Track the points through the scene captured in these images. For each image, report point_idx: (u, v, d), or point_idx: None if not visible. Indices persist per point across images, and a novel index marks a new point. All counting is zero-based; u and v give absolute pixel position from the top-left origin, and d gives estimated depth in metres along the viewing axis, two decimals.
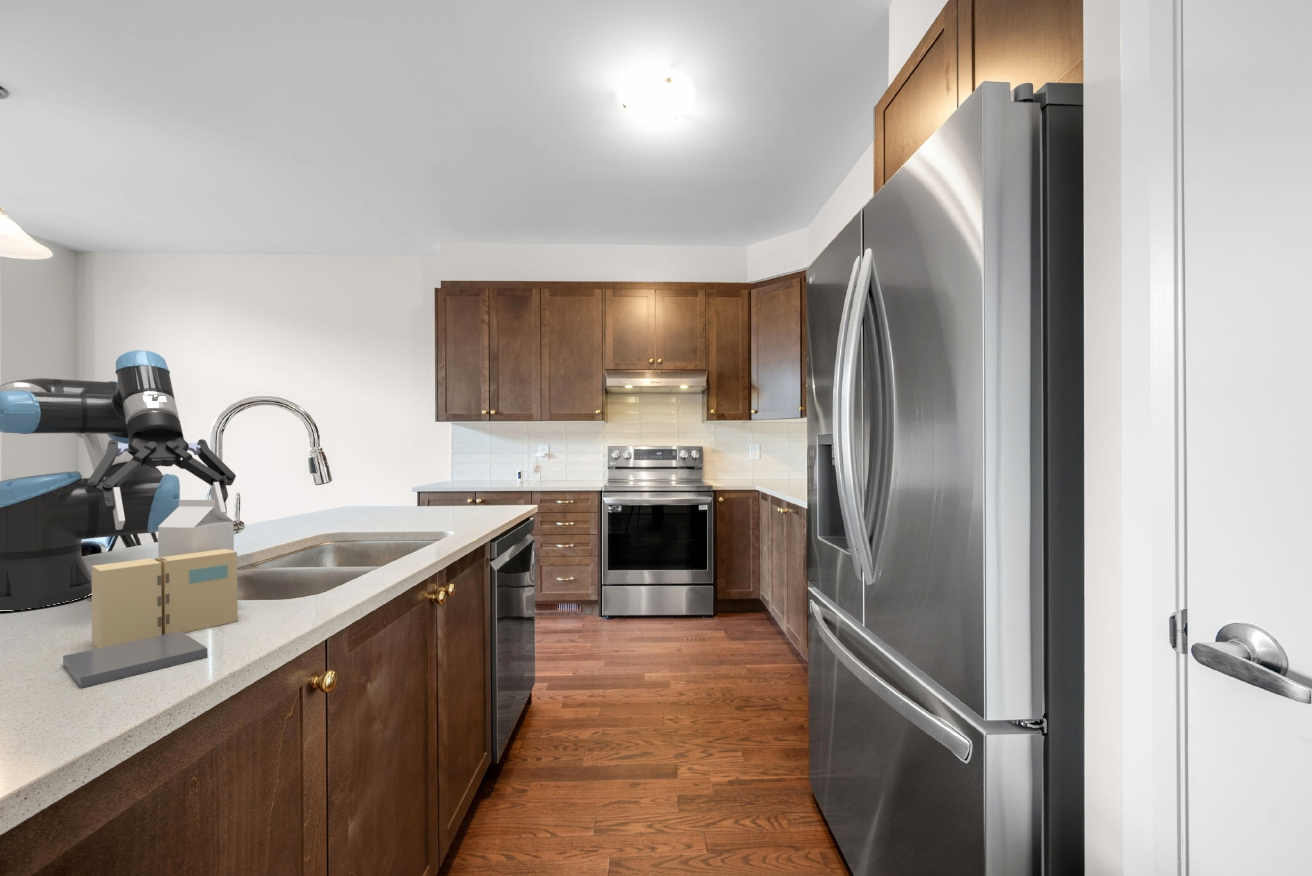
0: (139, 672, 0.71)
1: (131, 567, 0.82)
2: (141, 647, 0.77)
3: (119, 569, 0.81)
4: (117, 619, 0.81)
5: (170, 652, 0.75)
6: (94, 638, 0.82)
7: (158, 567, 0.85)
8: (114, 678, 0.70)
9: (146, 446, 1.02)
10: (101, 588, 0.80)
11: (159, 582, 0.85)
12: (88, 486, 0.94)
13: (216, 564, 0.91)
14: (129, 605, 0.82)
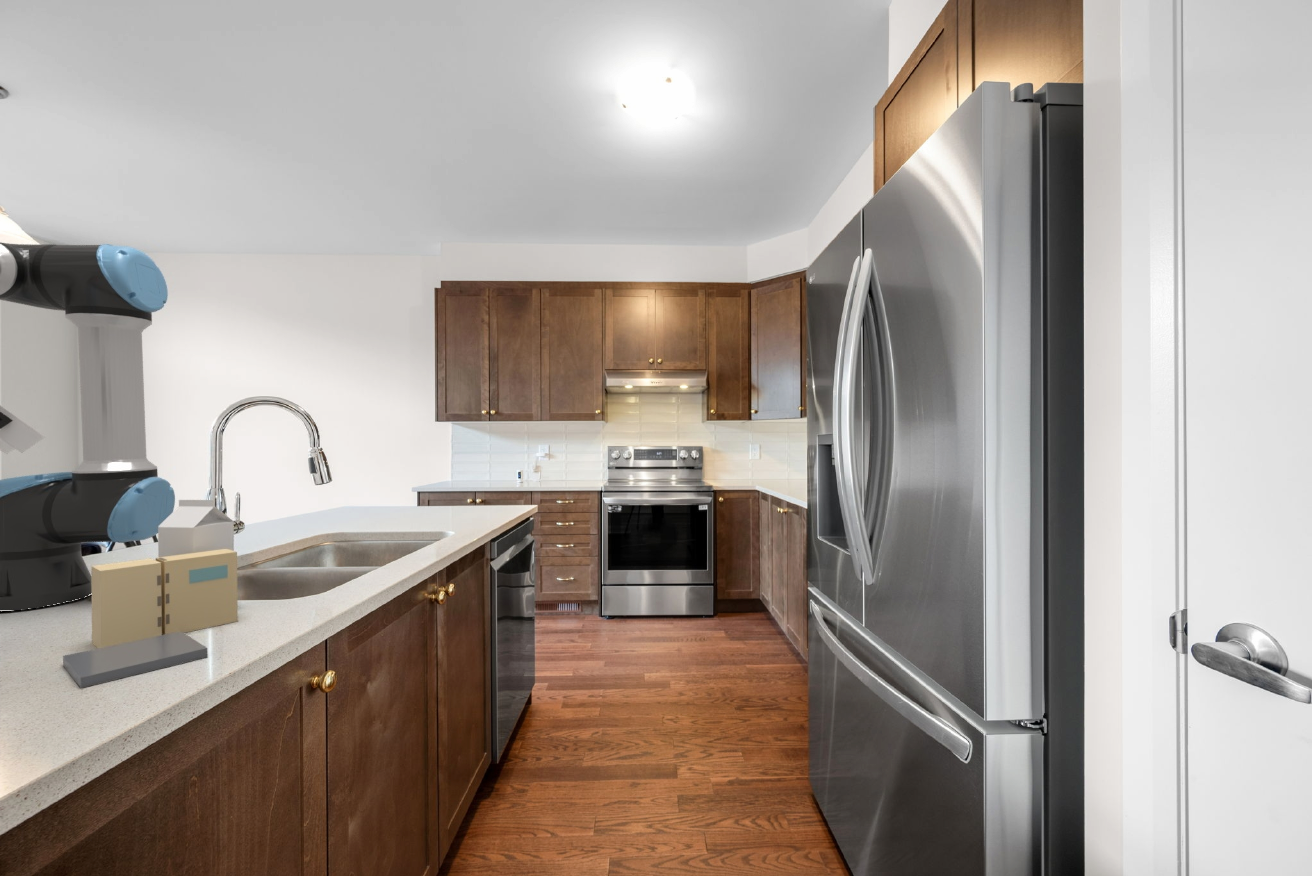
0: (139, 672, 0.71)
1: (131, 567, 0.82)
2: (141, 647, 0.77)
3: (119, 569, 0.81)
4: (117, 619, 0.81)
5: (170, 652, 0.75)
6: (94, 638, 0.82)
7: (158, 567, 0.85)
8: (114, 678, 0.70)
9: None
10: (101, 588, 0.80)
11: (159, 582, 0.85)
12: None
13: (216, 564, 0.91)
14: (129, 605, 0.82)
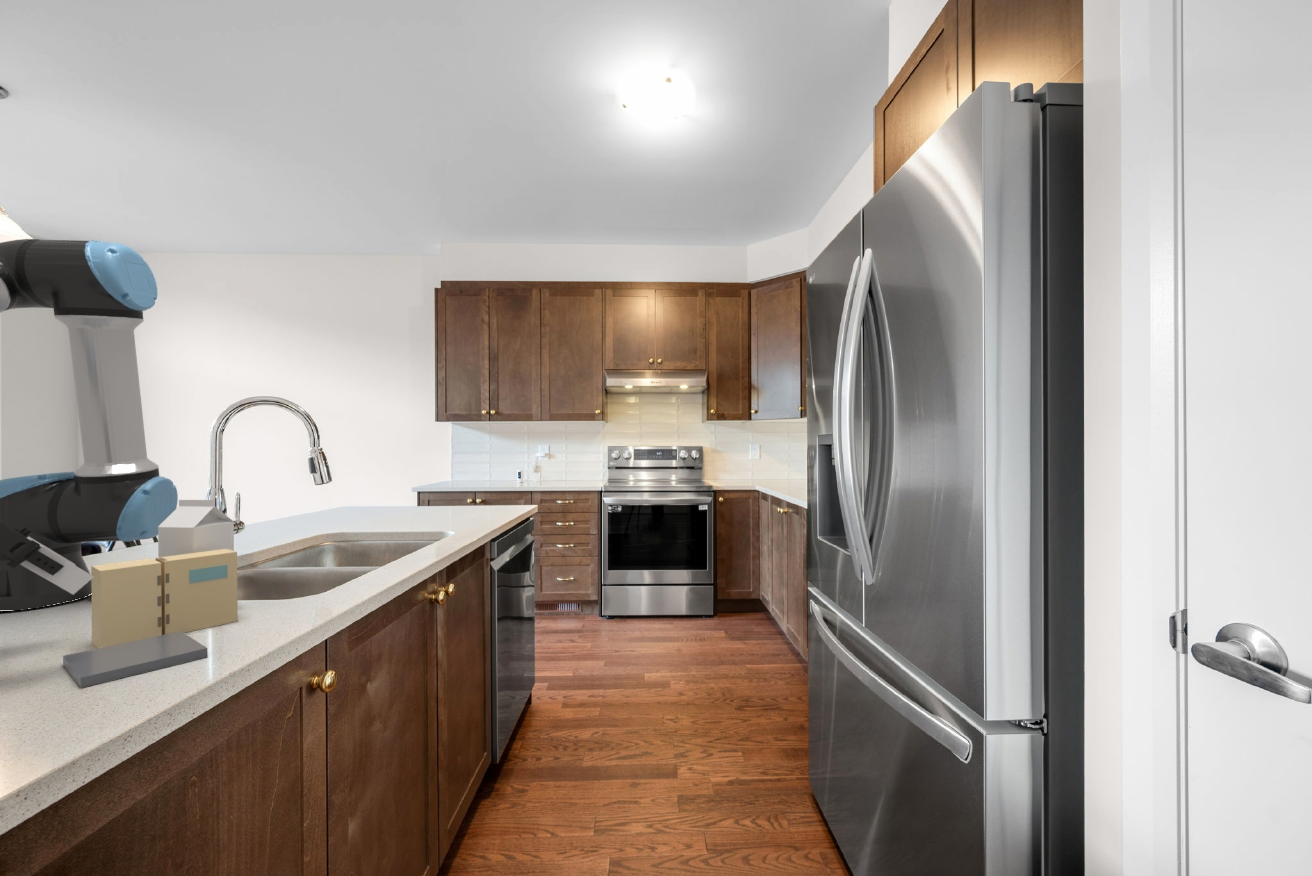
0: (139, 672, 0.71)
1: (131, 567, 0.82)
2: (141, 647, 0.77)
3: (119, 569, 0.81)
4: (117, 619, 0.81)
5: (170, 652, 0.75)
6: (94, 638, 0.82)
7: (158, 567, 0.85)
8: (114, 678, 0.70)
9: None
10: (101, 588, 0.80)
11: (159, 582, 0.85)
12: None
13: (216, 564, 0.91)
14: (129, 605, 0.82)
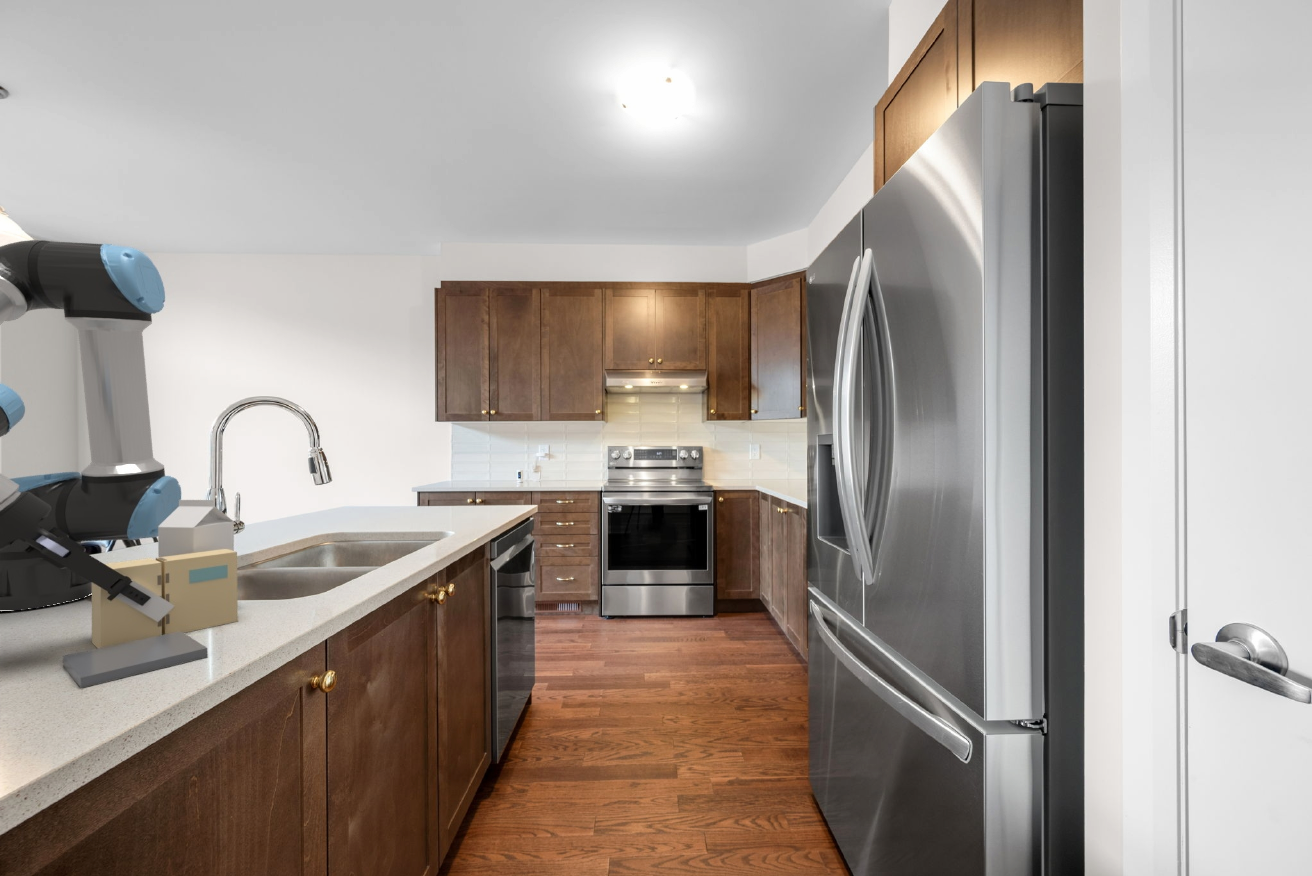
0: (139, 672, 0.71)
1: (131, 567, 0.82)
2: (141, 647, 0.77)
3: (119, 569, 0.81)
4: (118, 619, 0.81)
5: (170, 652, 0.75)
6: (94, 638, 0.82)
7: (158, 567, 0.85)
8: (114, 678, 0.70)
9: None
10: (101, 588, 0.80)
11: (159, 582, 0.85)
12: None
13: (216, 564, 0.91)
14: (129, 605, 0.82)
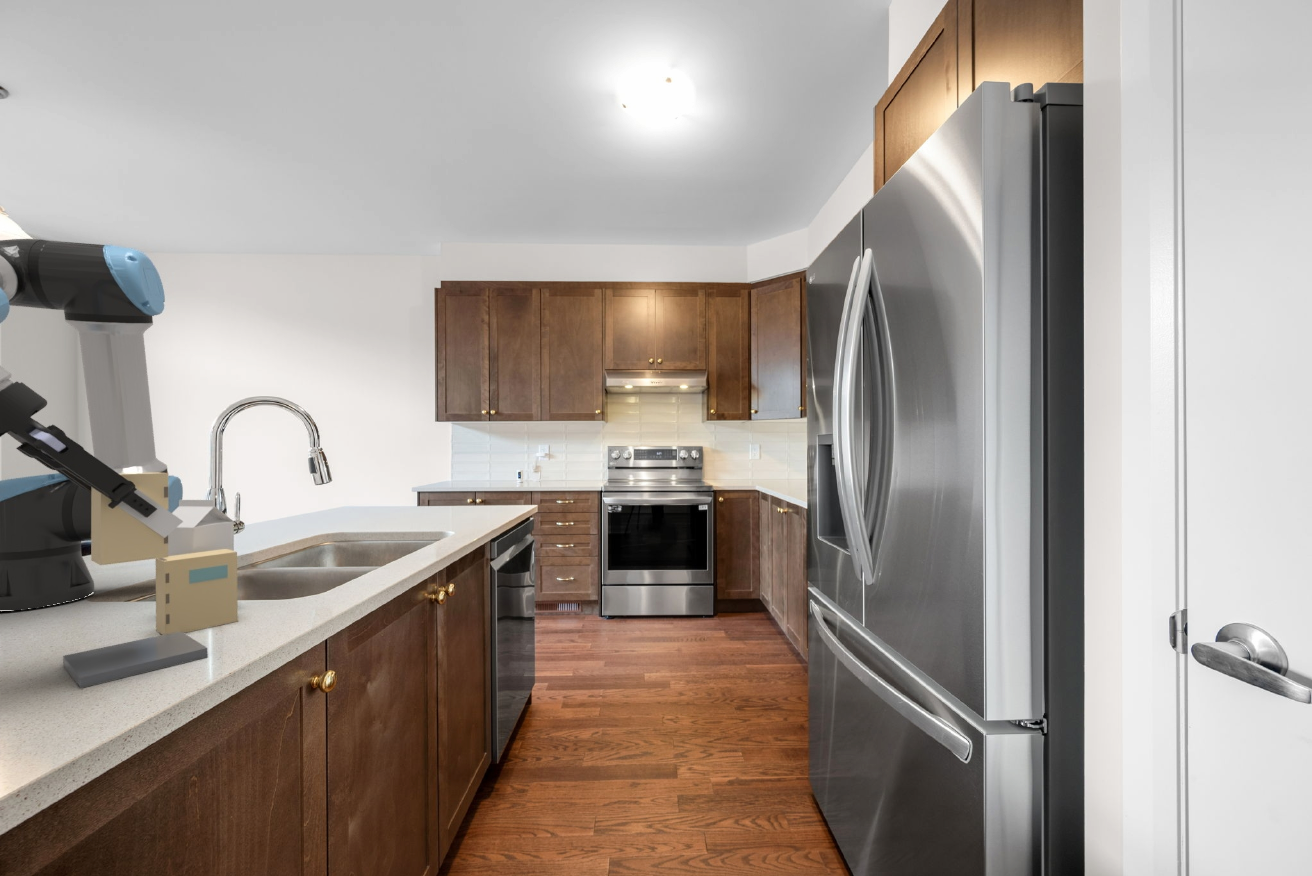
0: (139, 672, 0.71)
1: (135, 474, 0.74)
2: (141, 647, 0.77)
3: (122, 475, 0.73)
4: (119, 531, 0.73)
5: (170, 652, 0.75)
6: (93, 553, 0.74)
7: (165, 477, 0.76)
8: (114, 678, 0.70)
9: (27, 455, 0.70)
10: (102, 494, 0.72)
11: (166, 494, 0.76)
12: None
13: (216, 564, 0.91)
14: None
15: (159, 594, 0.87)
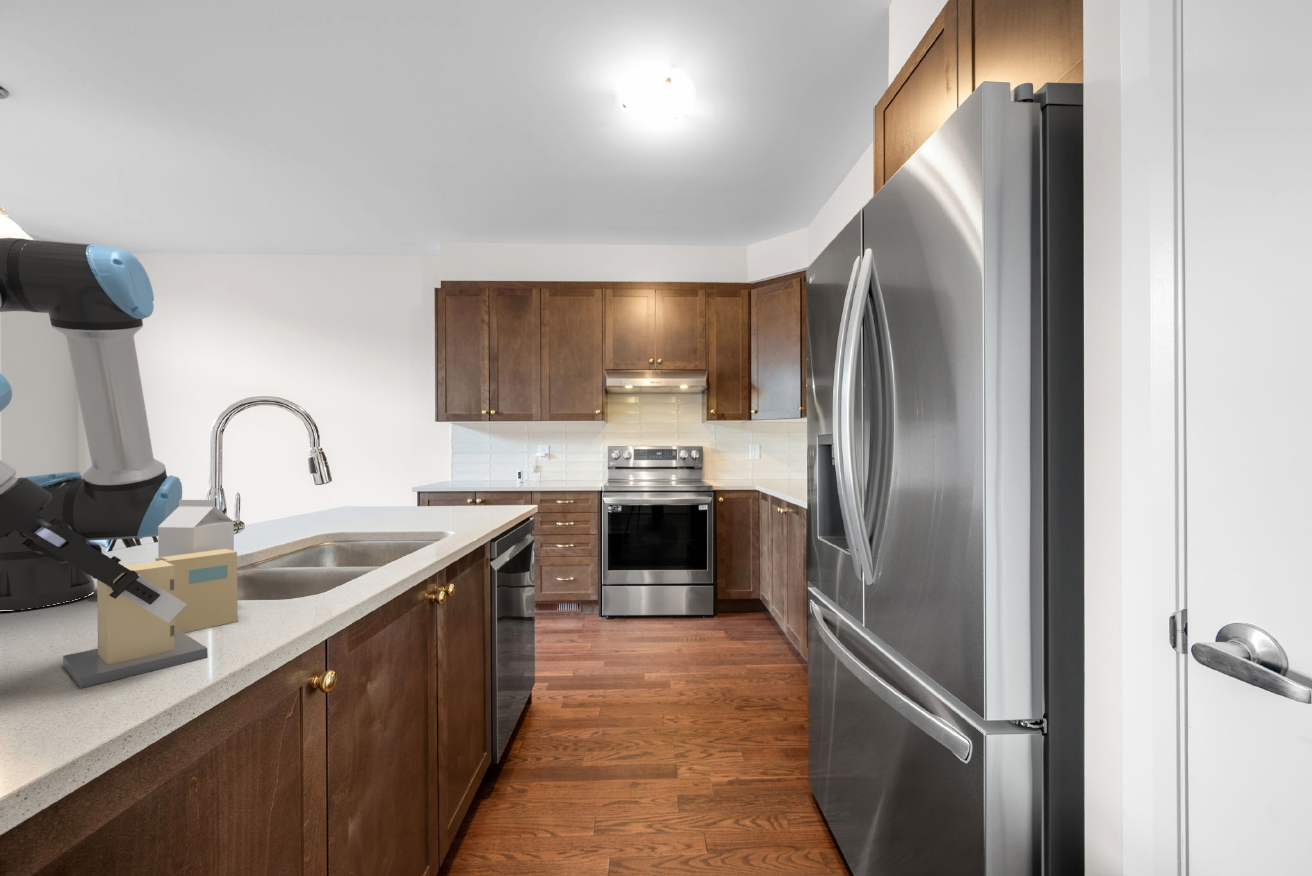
0: (139, 672, 0.71)
1: (141, 570, 0.74)
2: None
3: None
4: (126, 628, 0.73)
5: (170, 652, 0.75)
6: (100, 649, 0.74)
7: (171, 570, 0.76)
8: (114, 678, 0.70)
9: None
10: (108, 594, 0.72)
11: (172, 587, 0.76)
12: None
13: (216, 564, 0.91)
14: (139, 612, 0.74)
15: None
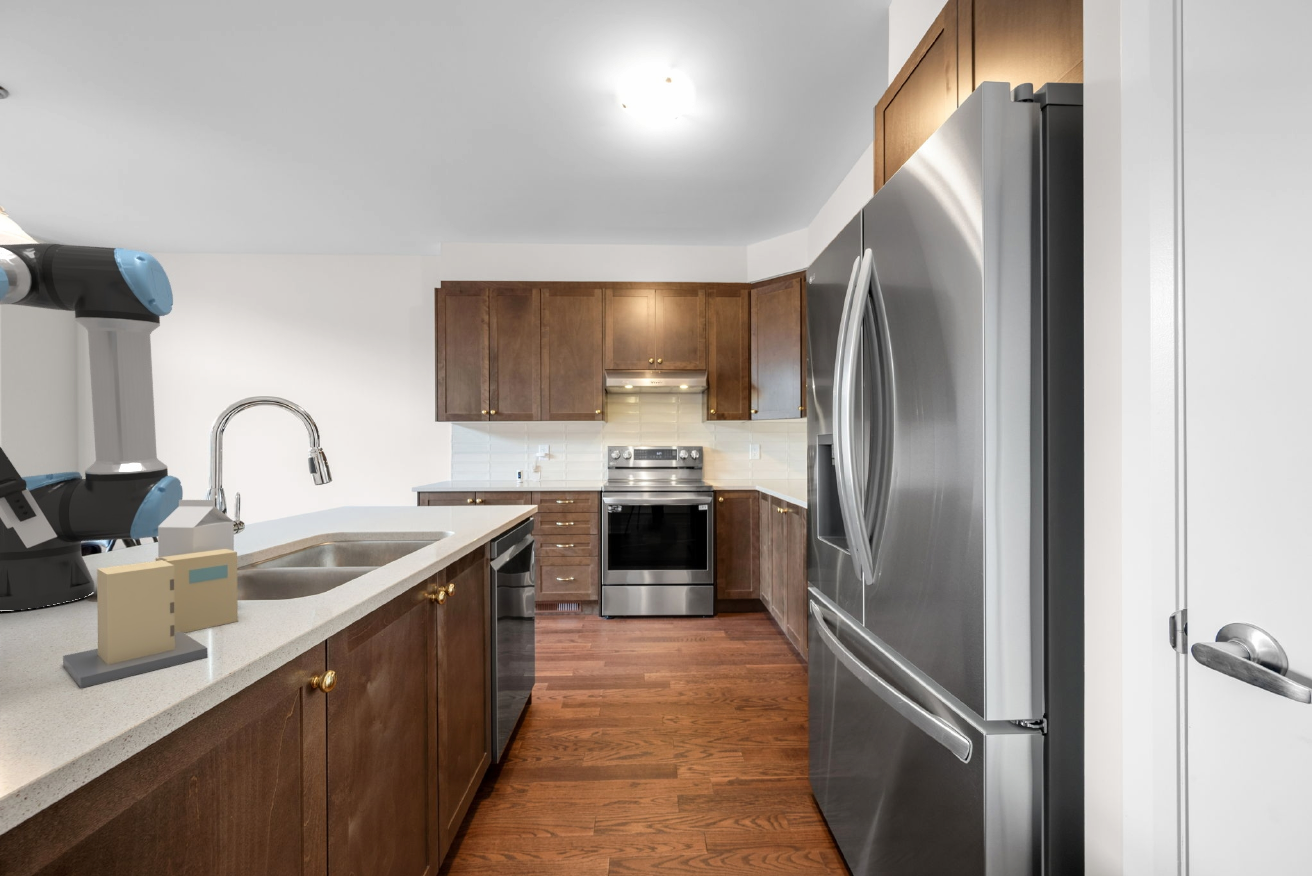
0: (139, 672, 0.71)
1: (141, 570, 0.74)
2: None
3: (128, 572, 0.73)
4: (126, 628, 0.73)
5: (170, 652, 0.75)
6: (100, 649, 0.74)
7: (171, 570, 0.76)
8: (114, 678, 0.70)
9: None
10: (108, 594, 0.72)
11: (172, 587, 0.76)
12: None
13: (216, 564, 0.91)
14: (139, 612, 0.74)
15: None
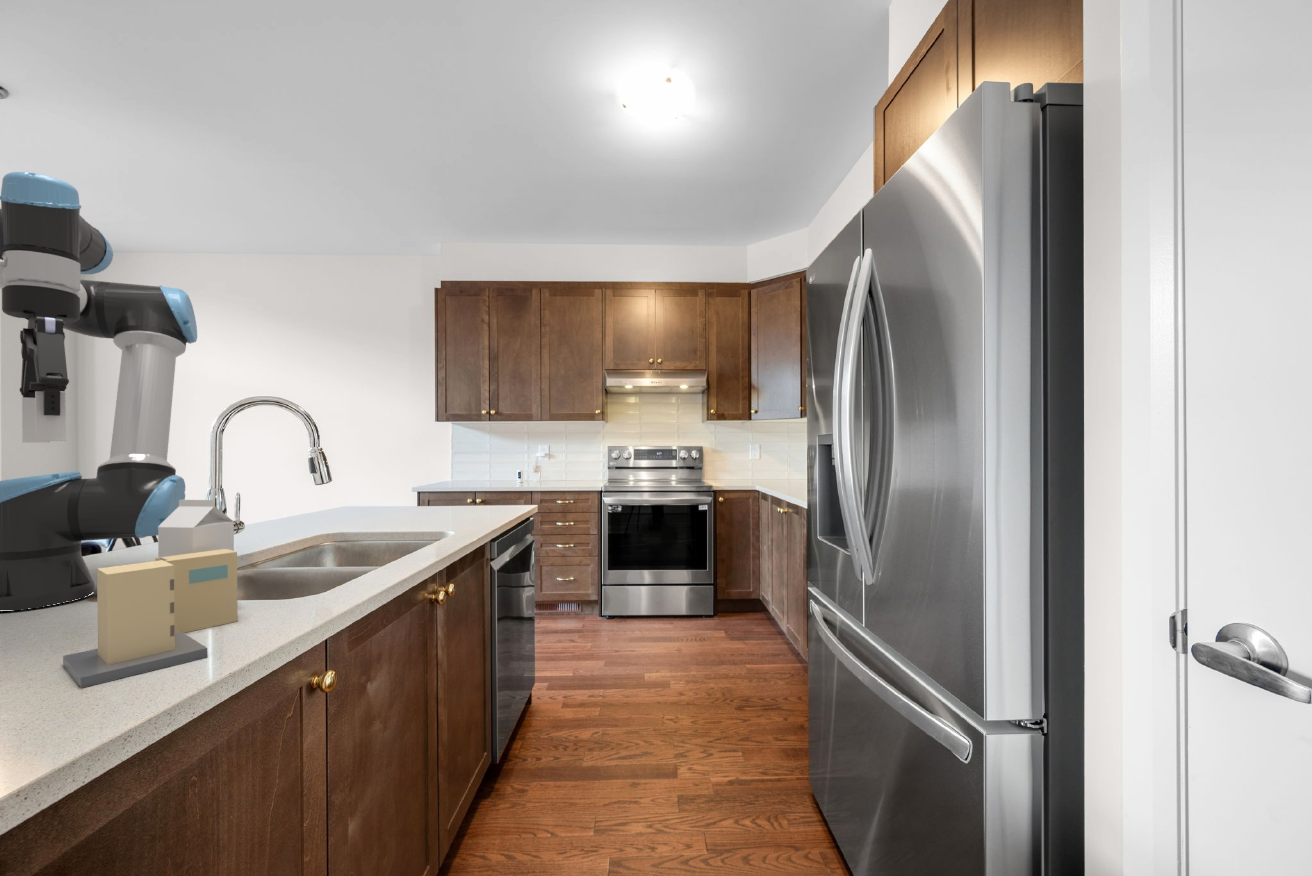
0: (139, 672, 0.71)
1: (141, 570, 0.74)
2: None
3: (128, 572, 0.73)
4: (126, 628, 0.73)
5: (170, 652, 0.75)
6: (100, 649, 0.74)
7: (171, 570, 0.76)
8: (114, 678, 0.70)
9: None
10: (108, 594, 0.72)
11: (172, 587, 0.76)
12: None
13: (216, 564, 0.91)
14: (139, 612, 0.74)
15: None
